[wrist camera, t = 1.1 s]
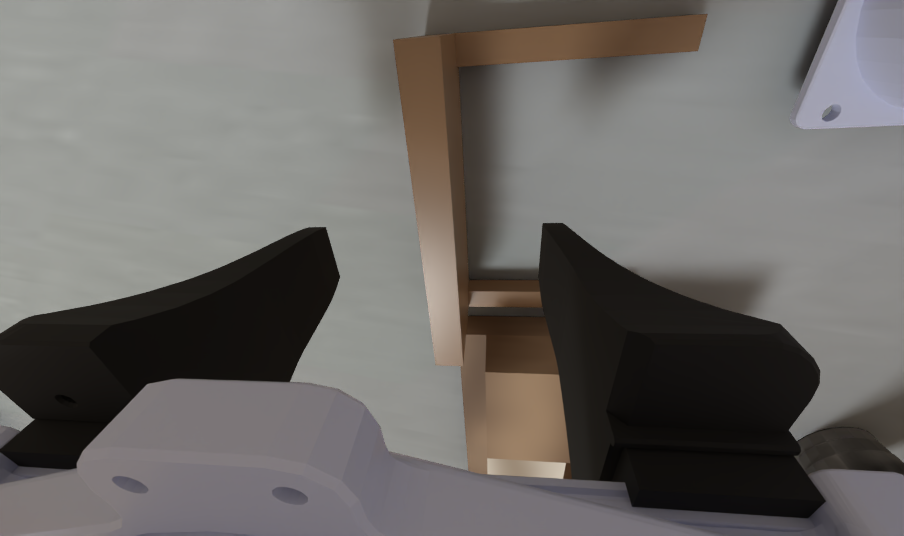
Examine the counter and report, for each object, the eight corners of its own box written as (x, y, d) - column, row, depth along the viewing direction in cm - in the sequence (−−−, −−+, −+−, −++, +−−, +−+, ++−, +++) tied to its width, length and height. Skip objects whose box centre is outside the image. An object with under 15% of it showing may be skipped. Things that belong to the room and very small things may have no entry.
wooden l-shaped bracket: (693, 14, 12) (795, 9, 8) (623, 296, 19) (660, 372, 15) (424, 35, 13) (392, 39, 9) (447, 294, 20) (435, 365, 16)
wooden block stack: (725, 319, 19) (799, 412, 14) (646, 489, 29) (675, 576, 24) (460, 315, 21) (450, 397, 16) (471, 477, 30) (467, 557, 26)
